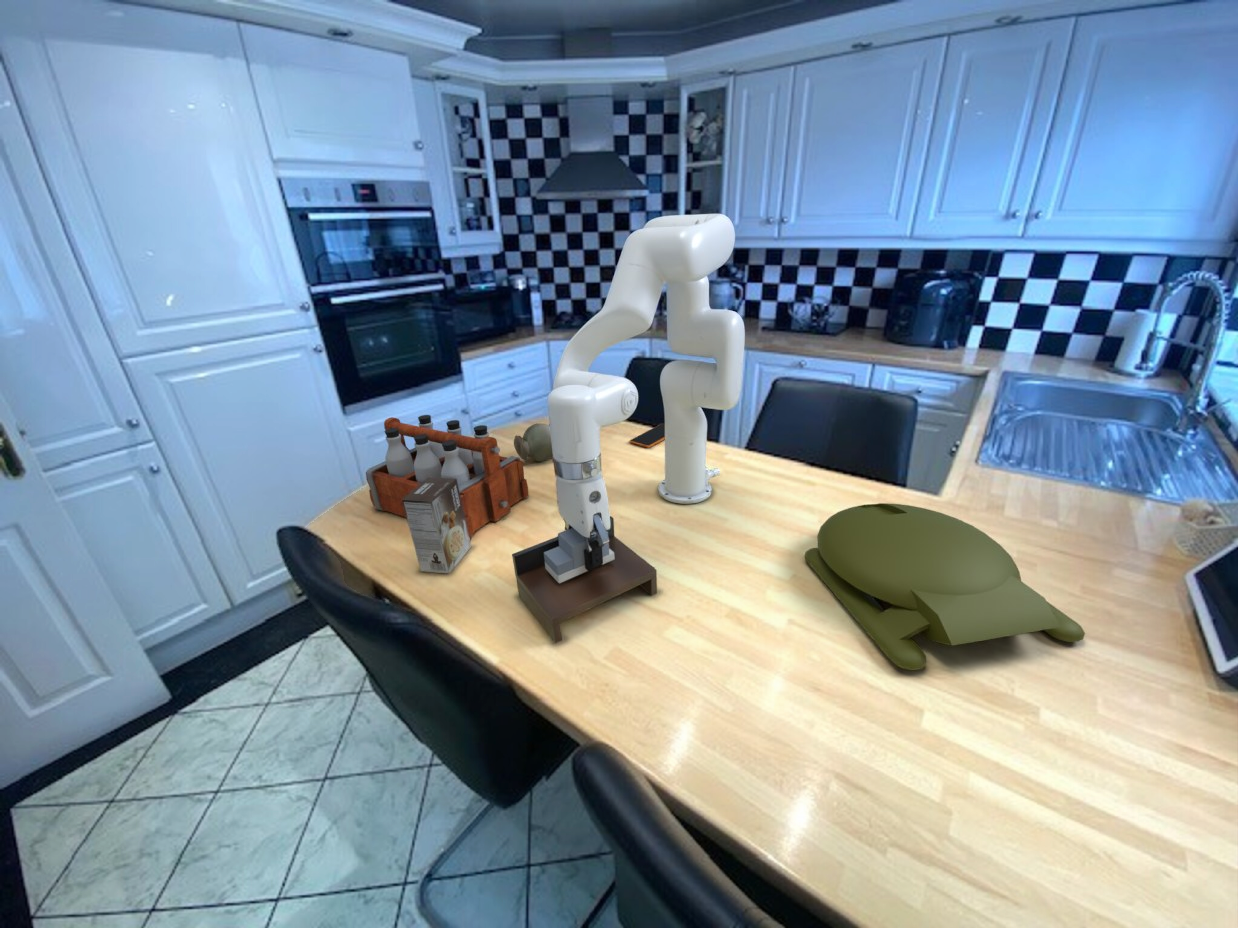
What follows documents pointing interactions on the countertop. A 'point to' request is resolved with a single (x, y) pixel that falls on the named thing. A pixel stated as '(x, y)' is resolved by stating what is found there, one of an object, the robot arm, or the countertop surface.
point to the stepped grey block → (571, 555)
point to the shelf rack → (577, 582)
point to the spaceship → (927, 581)
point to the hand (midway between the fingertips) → (585, 557)
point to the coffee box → (437, 524)
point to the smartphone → (650, 437)
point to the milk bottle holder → (447, 470)
